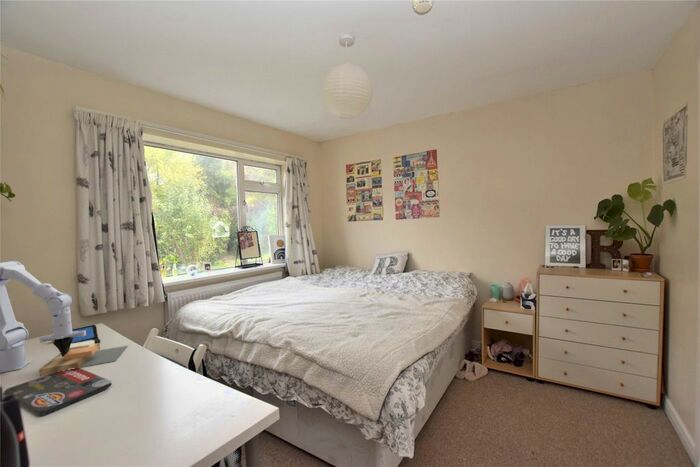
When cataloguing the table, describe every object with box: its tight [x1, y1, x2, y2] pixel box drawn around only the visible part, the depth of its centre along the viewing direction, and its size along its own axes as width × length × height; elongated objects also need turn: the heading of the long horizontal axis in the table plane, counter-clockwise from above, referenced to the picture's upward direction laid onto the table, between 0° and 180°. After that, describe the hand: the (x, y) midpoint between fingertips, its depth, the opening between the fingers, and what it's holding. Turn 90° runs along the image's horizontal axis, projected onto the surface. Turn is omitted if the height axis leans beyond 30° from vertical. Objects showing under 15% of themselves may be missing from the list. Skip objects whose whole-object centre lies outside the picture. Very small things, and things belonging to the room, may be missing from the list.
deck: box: [38, 342, 101, 377], centre depth 131 cm, size 12×22×2 cm, turn 22°
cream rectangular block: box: [69, 340, 95, 351], centre depth 137 cm, size 9×6×2 cm, turn 112°
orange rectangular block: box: [65, 346, 98, 360], centre depth 130 cm, size 9×6×2 cm, turn 112°
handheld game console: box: [71, 324, 101, 344], centre depth 149 cm, size 12×11×7 cm
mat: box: [79, 345, 129, 369], centre depth 134 cm, size 12×17×1 cm
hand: (65, 355), depth 128 cm, fingers closed
